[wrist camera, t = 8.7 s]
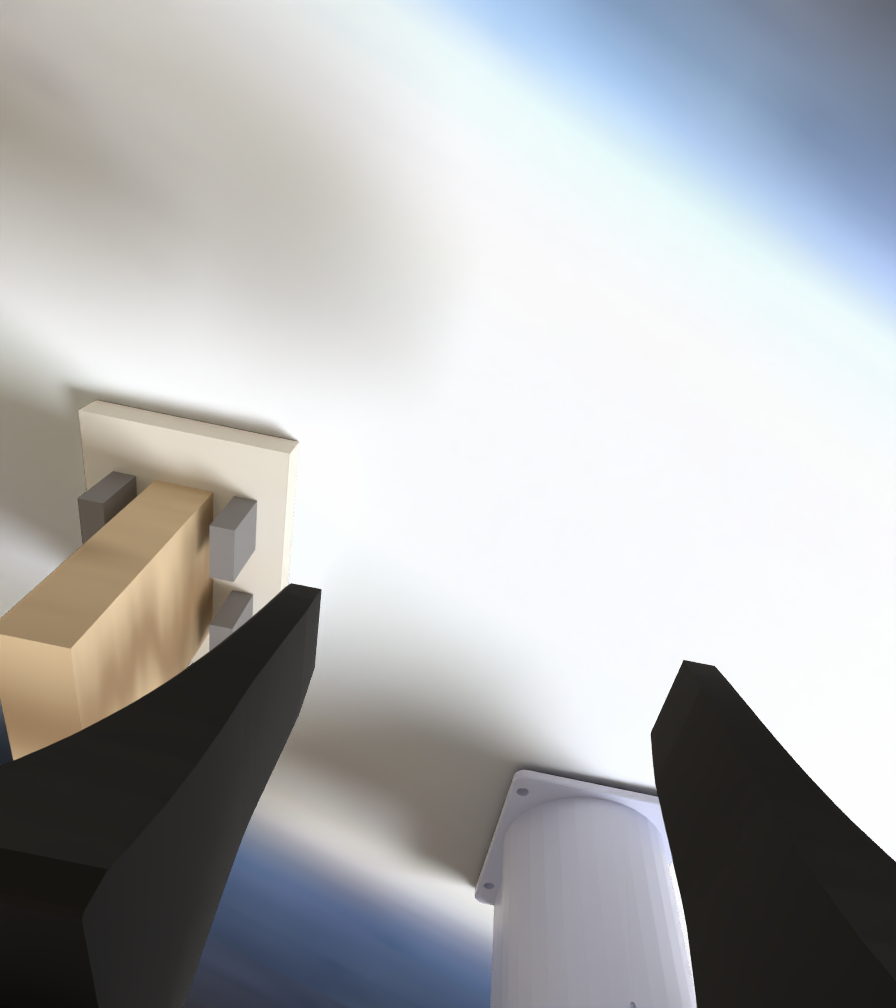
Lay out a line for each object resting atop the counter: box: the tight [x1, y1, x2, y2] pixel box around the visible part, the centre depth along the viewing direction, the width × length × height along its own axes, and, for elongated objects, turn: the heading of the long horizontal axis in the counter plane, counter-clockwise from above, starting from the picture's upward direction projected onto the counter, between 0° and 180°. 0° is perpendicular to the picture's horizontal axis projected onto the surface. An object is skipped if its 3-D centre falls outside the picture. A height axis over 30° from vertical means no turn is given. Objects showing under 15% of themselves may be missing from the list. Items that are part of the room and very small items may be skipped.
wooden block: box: [0, 480, 213, 761], centre depth 20 cm, size 6×2×8 cm, turn 170°
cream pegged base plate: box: [78, 400, 299, 663], centre depth 23 cm, size 10×7×3 cm
